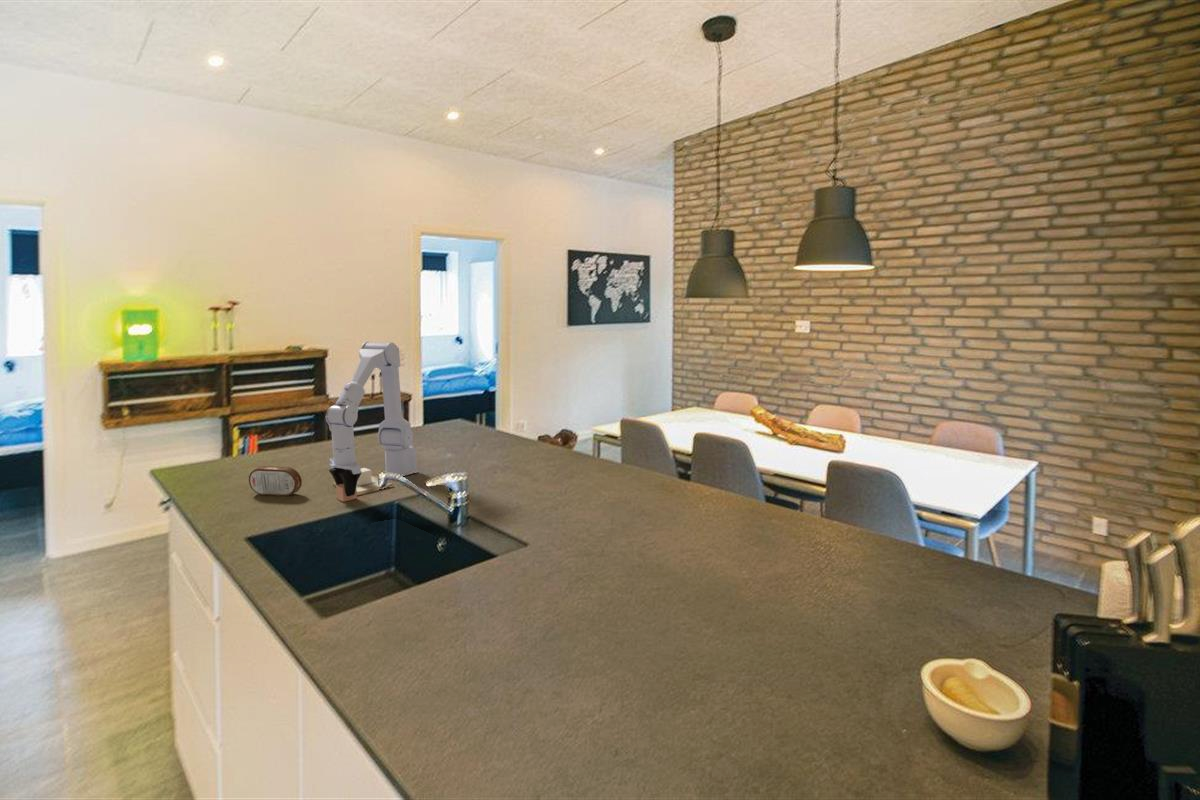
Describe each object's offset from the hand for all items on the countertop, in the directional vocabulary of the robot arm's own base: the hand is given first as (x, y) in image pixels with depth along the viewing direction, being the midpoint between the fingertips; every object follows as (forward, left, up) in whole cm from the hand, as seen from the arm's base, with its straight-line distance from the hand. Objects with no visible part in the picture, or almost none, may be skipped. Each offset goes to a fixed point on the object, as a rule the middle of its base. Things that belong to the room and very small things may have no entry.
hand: (346, 493), depth 176 cm
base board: (-9, -8, -2) cm, 12 cm away
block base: (-9, -8, 0) cm, 12 cm away
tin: (+12, -19, -2) cm, 23 cm away
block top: (0, 0, -1) cm, 1 cm away
